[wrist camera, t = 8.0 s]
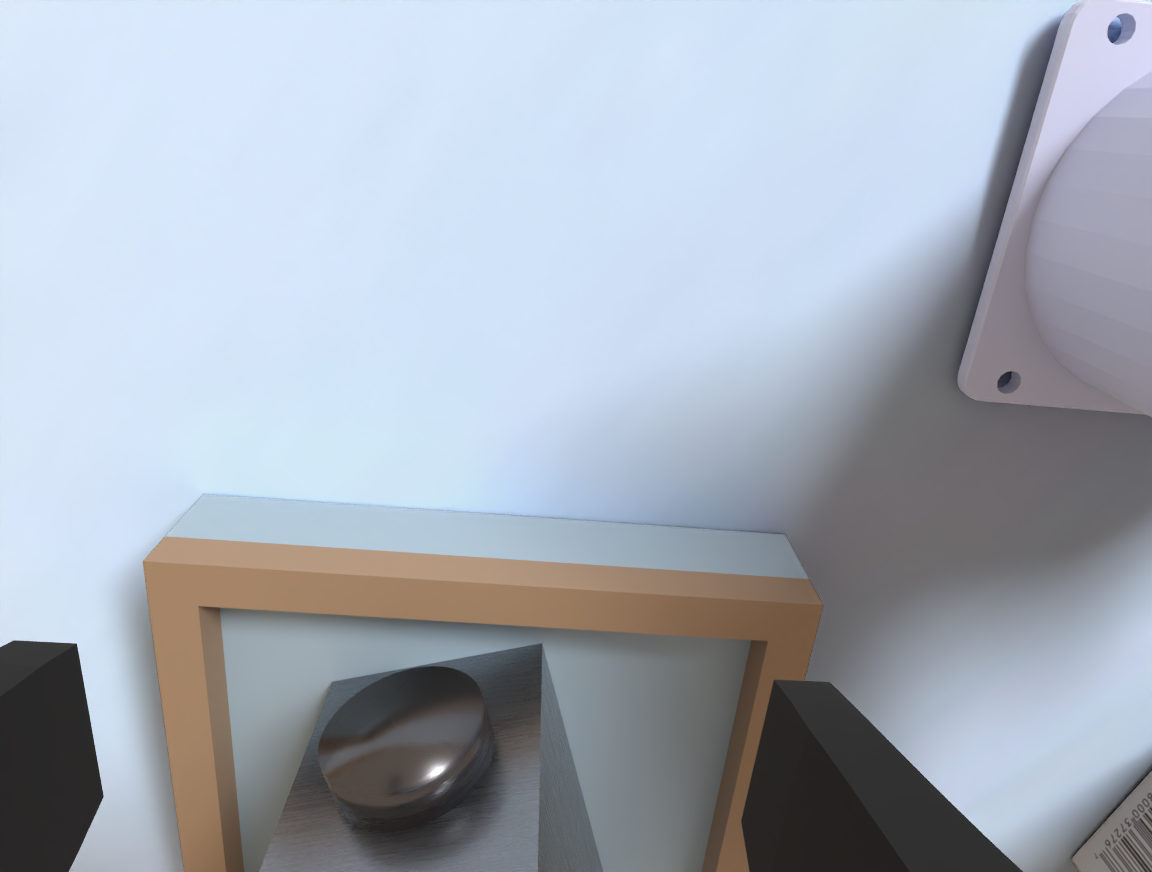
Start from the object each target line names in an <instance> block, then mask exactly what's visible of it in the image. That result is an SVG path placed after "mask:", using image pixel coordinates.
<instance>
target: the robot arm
mask: <svg viewBox="0 0 1152 872" xmlns="http://www.w3.org/2000/svg"><path fill="white" fill-rule="evenodd" d="M1115 17H1118V18H1119V19H1120V21H1121V23H1122V30H1121V34H1120V36H1119V37H1118V39H1117V41H1115V42H1114V43H1111V42H1110V41H1109V39H1108V37H1107V32H1108V26H1109V25H1110V23H1111V21H1112V20H1113V19H1114V18H1115ZM1009 371H1011V372H1012V374H1011V379H1010V381H1009V382H1008V384H1006V385H1005V386H1003V387H1000V388H997V381H998V380H999V378H1000V376H1001V375H1003V374H1004V373H1006V372H1009ZM957 383H958V385H959V388H960V390H961V391H962V392H963V393H965V394H966V395H967V396H969V397H970V398H971V399H974V400H977V401H984V402H996V403H1008V404H1021V405H1033V406H1045V407H1057V408H1070V409H1082V410H1094V411H1107V412H1119V413H1131V414H1143V415H1149V416H1150V417H1152V2H1148V1H1139V0H1081V1H1080V2H1078V3H1076V4H1074V5H1073V6H1072V7H1071V8H1070V9H1069V10H1068V11H1067V12H1066V13H1065V14H1064V17H1063V19H1062V21H1061V23H1060V25H1059V28H1058V32H1057V35H1056V39H1055V42H1054V46H1053V49H1052V53H1051V56H1050V59H1049V63H1048V66H1047V70H1046V73H1045V77H1044V80H1043V83H1042V87H1041V90H1040V94H1039V97H1038V101H1037V104H1036V108H1035V111H1034V114H1033V118H1032V121H1031V125H1030V128H1029V132H1028V135H1027V138H1026V142H1025V145H1024V149H1023V152H1022V156H1021V159H1020V163H1019V166H1018V169H1017V173H1016V176H1015V180H1014V183H1013V187H1012V190H1011V193H1010V197H1009V200H1008V204H1007V207H1006V211H1005V214H1004V218H1003V221H1002V224H1001V228H1000V231H999V235H998V238H997V242H996V245H995V248H994V252H993V255H992V259H991V262H990V266H989V269H988V272H987V276H986V279H985V283H984V286H983V290H982V293H981V297H980V300H979V303H978V307H977V310H976V314H975V317H974V321H973V324H972V327H971V331H970V334H969V338H968V341H967V345H966V348H965V352H964V355H963V358H962V362H961V365H960V369H959V372H958V380H957ZM103 797H104V796H103V791H102V785H101V779H100V774H99V768H98V762H97V756H96V751H95V745H94V739H93V734H92V728H91V722H90V716H89V711H88V705H87V699H86V694H85V688H84V682H83V676H82V671H81V665H80V659H79V654H78V648H77V644H72V643H53V642H33V641H12V642H10V643H8V644H6V645H4V646H2V647H0V872H69V870H70V868H71V866H72V864H73V862H74V860H75V858H76V855H77V853H78V851H79V849H80V847H81V845H82V843H83V840H84V838H85V836H86V834H87V832H88V829H89V827H90V825H91V823H92V821H93V819H94V816H95V814H96V812H97V810H98V808H99V805H100V803H101V801H102V799H103ZM741 824H742V830H743V836H744V842H745V848H746V854H747V860H748V866H749V872H1023V871H1022V870H1020V869H1019V868H1018V867H1017V866H1016V865H1015V864H1014V863H1013V862H1012V861H1011V860H1010V859H1009V858H1008V857H1006V856H1005V855H1004V854H1003V853H1002V852H1001V851H1000V850H999V849H998V848H997V847H996V846H995V845H994V844H993V843H992V842H991V841H990V840H989V839H988V838H986V837H985V836H984V835H983V834H982V833H981V832H980V831H979V830H978V829H977V828H976V827H975V826H974V825H973V824H972V823H971V822H970V821H969V820H968V819H967V818H966V817H965V816H964V815H963V814H962V813H961V812H960V811H959V810H957V809H956V808H955V807H954V806H953V805H952V804H951V803H950V802H949V801H948V800H947V799H946V798H945V797H944V796H943V795H942V794H941V793H940V792H939V791H938V790H937V789H936V788H935V787H934V786H933V785H932V784H931V783H930V782H929V781H928V780H927V779H926V778H925V777H924V776H923V775H922V774H921V773H920V772H919V771H918V770H917V769H916V768H915V767H914V766H913V765H912V764H911V763H910V762H909V761H908V760H907V759H906V758H905V757H904V756H903V755H902V754H901V753H900V752H899V751H898V750H897V749H896V748H895V747H894V746H893V745H892V744H891V743H890V742H889V741H888V740H887V739H886V738H885V737H884V736H883V735H882V734H881V733H880V732H879V731H878V730H877V729H876V728H875V727H874V726H873V725H872V724H871V723H870V722H869V721H868V720H867V719H866V718H865V716H863V715H862V714H861V713H860V712H859V711H858V710H857V709H856V708H855V707H854V706H853V705H852V704H851V703H850V702H849V701H848V700H847V699H846V698H845V697H844V696H843V695H842V694H841V693H840V692H839V691H838V690H837V689H836V688H835V687H834V686H833V685H832V684H831V683H829V682H813V681H793V680H774V681H773V686H772V690H771V694H770V698H769V703H768V707H767V711H766V716H765V720H764V724H763V729H762V733H761V737H760V742H759V746H758V750H757V754H756V759H755V763H754V767H753V772H752V776H751V780H750V785H749V789H748V793H747V798H746V802H745V806H744V810H743V815H742V819H741Z"/></svg>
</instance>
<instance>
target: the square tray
mask: <svg viewBox="0 0 1152 872" xmlns="http://www.w3.org/2000/svg"><path fill="white" fill-rule="evenodd" d="M143 566H144V574H145V581H146V589H147V596H148V604H149V611H150V619H151V626H152V634H153V641H154V649H155V656H156V664H157V671H158V679H159V686H160V694H161V702H162V709H163V717H164V724H165V732H166V739H167V747H168V754H169V762H170V769H171V777H172V784H173V792H174V799H175V807H176V814H177V822H178V829H179V837H180V844H181V852H182V859H183V867H184V872H259V871H260V868H261V866H262V863H263V861H264V858H265V855H266V853H267V850H268V847H269V845H270V842H271V840H272V837H273V834H274V832H275V829H276V827H277V824H278V821H279V819H280V816H281V814H282V811H283V808H284V806H285V803H286V800H287V798H288V795H289V793H290V790H291V787H292V785H293V782H294V780H295V777H296V774H297V772H298V769H299V767H300V764H301V761H302V759H303V756H304V753H305V751H306V748H307V746H308V743H309V740H310V738H311V735H312V733H313V730H314V727H315V725H316V722H317V720H318V717H319V714H320V712H321V709H322V706H323V704H324V701H325V699H326V696H327V693H328V691H329V688H330V686H331V683H332V682H333V681H338V680H344V679H349V678H355V677H360V676H366V675H371V674H377V673H382V672H387V671H393V670H398V669H404V668H409V667H415V666H420V665H426V664H431V663H437V662H442V661H447V660H453V659H458V658H464V657H469V656H475V655H480V654H486V653H491V652H496V651H502V650H507V649H513V648H518V647H524V646H529V645H535V644H540V643H542V644H543V648H544V651H545V655H546V659H547V663H548V666H549V670H550V674H551V678H552V681H553V685H554V689H555V693H556V696H557V700H558V704H559V707H560V711H561V715H562V719H563V722H564V726H565V730H566V734H567V737H568V741H569V745H570V749H571V752H572V756H573V760H574V764H575V767H576V771H577V775H578V779H579V782H580V786H581V790H582V794H583V797H584V801H585V805H586V809H587V812H588V816H589V820H590V824H591V827H592V831H593V835H594V839H595V842H596V846H597V850H598V854H599V857H600V861H601V865H602V869H603V872H749V866H748V860H747V854H746V848H745V842H744V836H743V830H742V824H741V819H742V815H743V810H744V806H745V802H746V798H747V793H748V789H749V785H750V780H751V776H752V772H753V767H754V763H755V759H756V754H757V750H758V746H759V742H760V737H761V733H762V729H763V724H764V720H765V716H766V711H767V707H768V703H769V698H770V694H771V690H772V686H773V681H774V680H793V681H804V680H805V676H806V672H807V668H808V664H809V660H810V656H811V652H812V648H813V644H814V640H815V636H816V632H817V628H818V624H819V620H820V616H821V612H822V608H823V604H822V602H821V600H820V598H819V596H818V594H817V593H816V591H815V589H814V587H813V585H812V583H811V582H810V580H809V578H808V576H807V574H806V572H805V570H804V569H803V567H802V565H801V563H800V561H799V559H798V557H797V556H796V554H795V552H794V550H793V548H792V546H791V544H790V543H789V541H788V539H787V537H786V535H785V534H772V533H758V532H744V531H729V530H715V529H701V528H686V527H672V526H658V525H643V524H629V523H615V522H600V521H586V520H572V519H558V518H543V517H529V516H515V515H500V514H486V513H472V512H457V511H443V510H429V509H414V508H400V507H386V506H371V505H357V504H343V503H328V502H314V501H300V500H285V499H271V498H257V497H242V496H228V495H214V494H203V495H202V496H201V497H200V498H199V499H198V500H197V501H196V503H195V504H194V505H193V506H192V507H191V508H190V509H189V510H188V512H187V513H186V514H185V515H184V516H183V517H182V518H181V519H180V520H179V522H178V523H177V524H176V525H175V526H174V527H173V528H172V529H171V530H170V532H169V533H168V534H167V535H166V536H165V537H164V538H163V539H162V540H161V542H160V543H159V544H158V545H157V546H156V547H155V548H154V549H153V550H152V552H151V553H150V554H149V555H148V556H147V557H146V558H145V559H144V561H143Z"/></svg>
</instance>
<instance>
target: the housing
mask: <svg viewBox="0 0 1152 872" xmlns="http://www.w3.org/2000/svg"><path fill="white" fill-rule="evenodd" d="M259 872H603V869H602V865H601V861H600V857H599V854H598V850H597V846H596V842H595V839H594V835H593V831H592V827H591V824H590V820H589V816H588V812H587V809H586V805H585V801H584V797H583V794H582V790H581V786H580V782H579V779H578V775H577V771H576V767H575V764H574V760H573V756H572V752H571V749H570V745H569V741H568V737H567V734H566V730H565V726H564V722H563V719H562V715H561V711H560V707H559V704H558V700H557V696H556V693H555V689H554V685H553V681H552V678H551V674H550V670H549V666H548V663H547V659H546V655H545V651H544V648H543V644H542V643H540V644H535V645H529V646H524V647H518V648H513V649H507V650H502V651H496V652H491V653H486V654H480V655H475V656H469V657H464V658H458V659H453V660H447V661H442V662H437V663H431V664H426V665H420V666H415V667H409V668H404V669H398V670H393V671H387V672H382V673H377V674H371V675H366V676H360V677H355V678H349V679H344V680H338V681H333V682H332V683H331V686H330V688H329V691H328V693H327V696H326V699H325V701H324V704H323V706H322V709H321V712H320V714H319V717H318V720H317V722H316V725H315V727H314V730H313V733H312V735H311V738H310V740H309V743H308V746H307V748H306V751H305V753H304V756H303V759H302V761H301V764H300V767H299V769H298V772H297V774H296V777H295V780H294V782H293V785H292V787H291V790H290V793H289V795H288V798H287V800H286V803H285V806H284V808H283V811H282V814H281V816H280V819H279V821H278V824H277V827H276V829H275V832H274V834H273V837H272V840H271V842H270V845H269V847H268V850H267V853H266V855H265V858H264V861H263V863H262V866H261V868H260V871H259Z"/></svg>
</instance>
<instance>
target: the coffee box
mask: <svg viewBox="0 0 1152 872" xmlns="http://www.w3.org/2000/svg"><path fill="white" fill-rule="evenodd" d="M1072 861H1073V864H1074V866H1075V867H1076V869H1077V870H1078V872H1152V771H1151V772H1150V773H1149V774H1148V775H1147V776H1146V777H1145V778H1144V779H1143V781H1142V782H1141V783H1140V784H1139V785H1138V786H1137V787H1136V788H1135V789H1134V790H1133V792H1132V793H1131V794H1130V795H1129V796H1128V797H1127V798H1126V799H1125V800H1124V801H1123V802H1122V804H1121V805H1120V806H1119V807H1118V808H1117V809H1116V810H1115V811H1114V812H1113V813H1112V814H1111V815H1110V817H1109V818H1108V819H1107V820H1106V821H1105V822H1104V823H1103V824H1102V825H1101V826H1100V827H1099V829H1098V830H1097V831H1096V832H1095V833H1094V834H1093V835H1092V836H1091V837H1090V838H1089V839H1088V841H1087V842H1086V843H1085V844H1084V845H1083V846H1082V847H1081V848H1080V849H1079V850H1078V851H1077V853H1076V854H1075V855H1074V856H1073V858H1072Z"/></svg>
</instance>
